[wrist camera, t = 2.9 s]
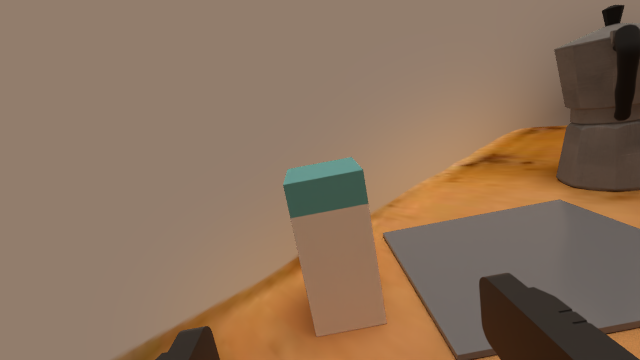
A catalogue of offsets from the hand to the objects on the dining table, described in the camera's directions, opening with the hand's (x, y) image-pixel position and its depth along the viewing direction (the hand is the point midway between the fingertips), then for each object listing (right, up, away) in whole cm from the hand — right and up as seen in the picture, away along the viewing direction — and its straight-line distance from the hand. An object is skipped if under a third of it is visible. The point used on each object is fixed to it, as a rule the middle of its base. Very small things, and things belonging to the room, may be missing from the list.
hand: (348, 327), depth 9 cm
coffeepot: (+31, +4, +26) cm, 40 cm away
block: (+1, -5, +13) cm, 14 cm away
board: (+15, -2, +15) cm, 21 cm away
